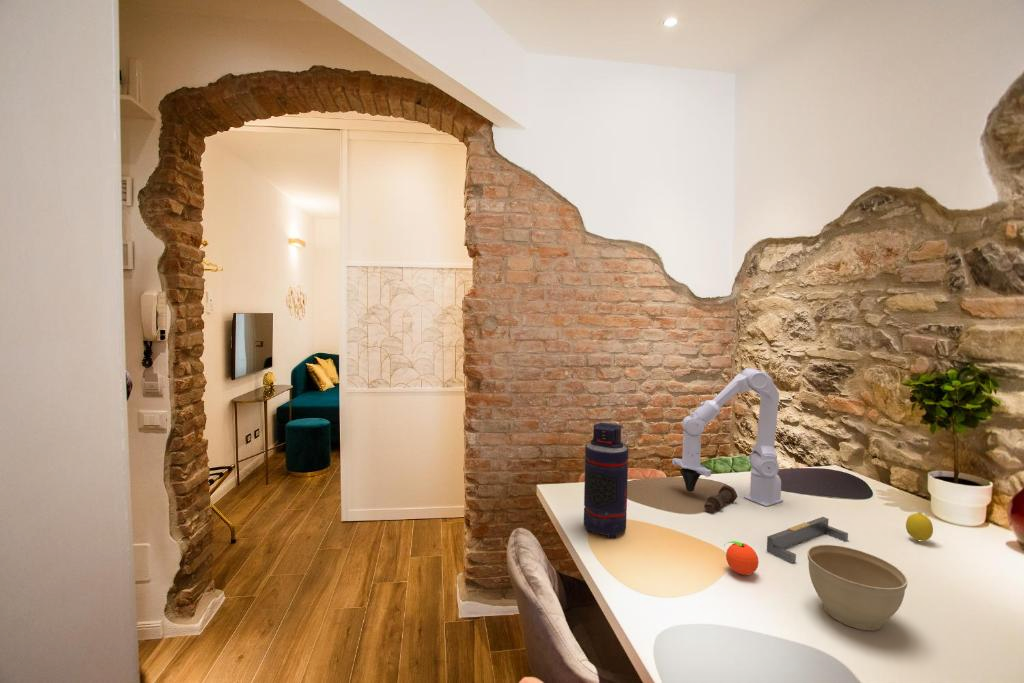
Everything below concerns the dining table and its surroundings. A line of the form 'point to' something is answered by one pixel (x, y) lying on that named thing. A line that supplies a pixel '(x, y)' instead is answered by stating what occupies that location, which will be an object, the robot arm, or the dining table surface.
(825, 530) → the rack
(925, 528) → the lemon
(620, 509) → the grenade
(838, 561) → the planter bowl
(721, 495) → the bolt
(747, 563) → the orange-red round fruit
